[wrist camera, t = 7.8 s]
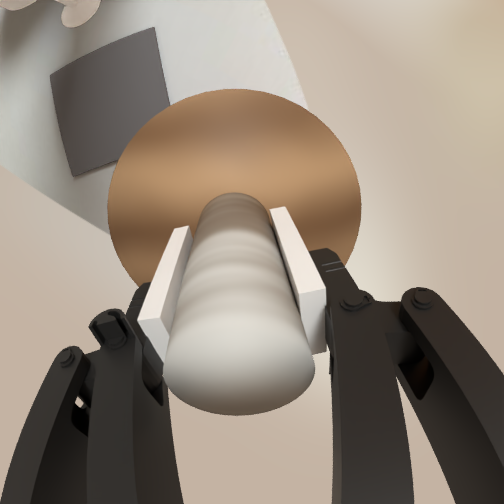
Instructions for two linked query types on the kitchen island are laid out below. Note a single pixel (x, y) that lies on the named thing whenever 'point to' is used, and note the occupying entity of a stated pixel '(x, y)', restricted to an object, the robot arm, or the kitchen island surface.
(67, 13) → the champagne flute
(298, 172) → the lid
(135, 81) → the mat
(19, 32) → the kitchen island surface
